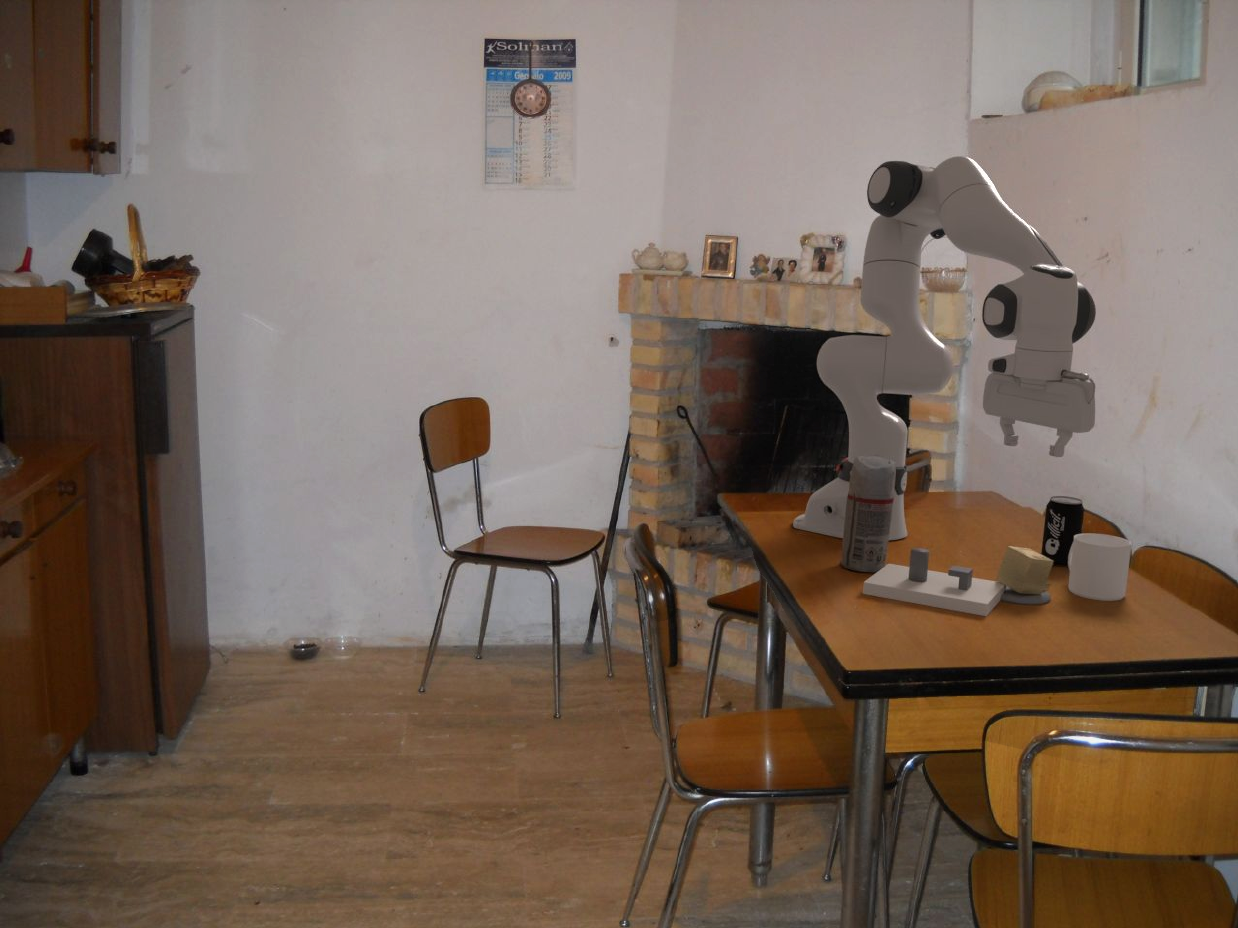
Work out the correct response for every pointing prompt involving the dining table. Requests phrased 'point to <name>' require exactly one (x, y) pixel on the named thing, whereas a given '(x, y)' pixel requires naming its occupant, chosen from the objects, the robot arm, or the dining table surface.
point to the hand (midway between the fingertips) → (1032, 450)
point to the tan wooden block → (1025, 570)
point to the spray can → (868, 513)
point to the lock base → (935, 586)
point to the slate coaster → (1025, 597)
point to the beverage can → (1061, 527)
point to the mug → (1099, 566)
